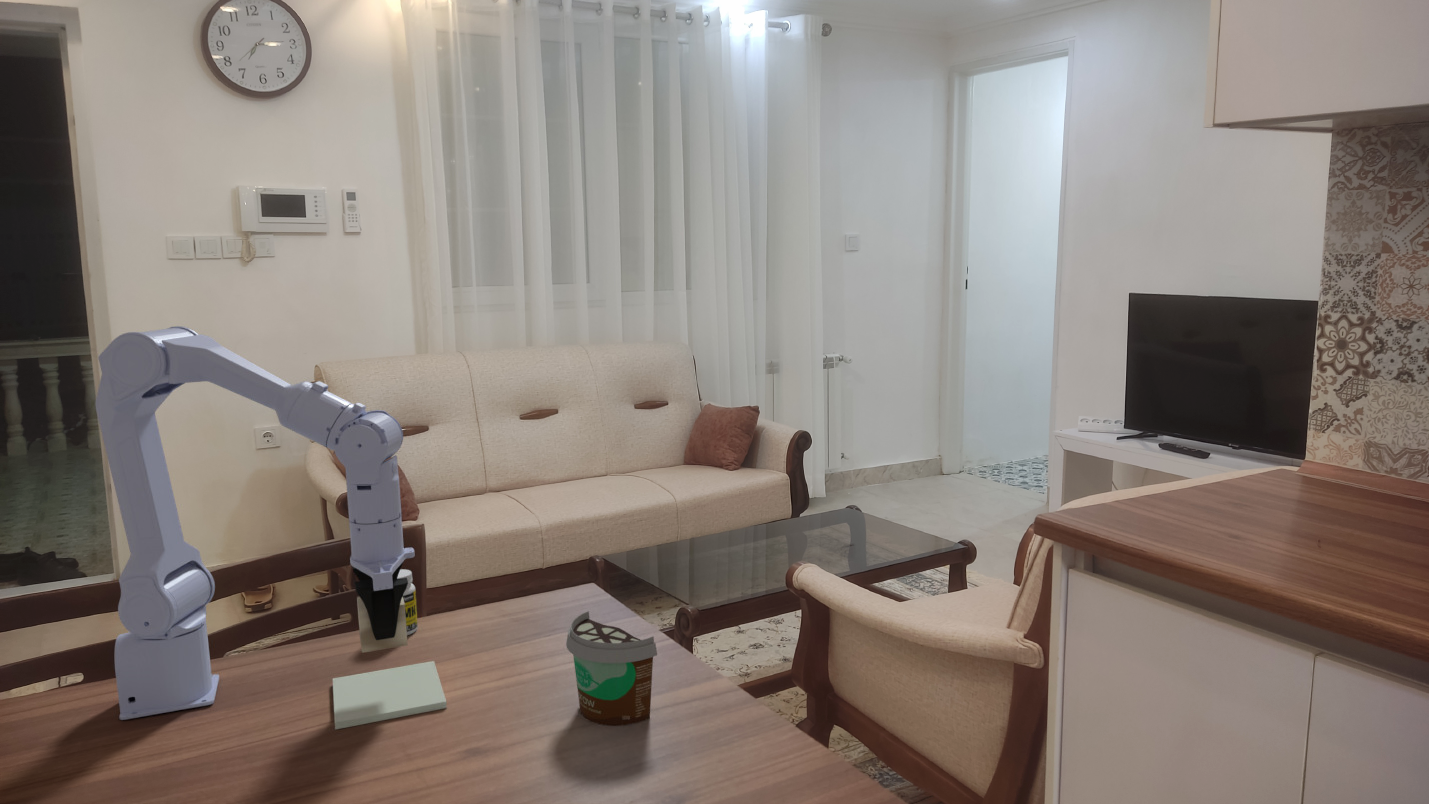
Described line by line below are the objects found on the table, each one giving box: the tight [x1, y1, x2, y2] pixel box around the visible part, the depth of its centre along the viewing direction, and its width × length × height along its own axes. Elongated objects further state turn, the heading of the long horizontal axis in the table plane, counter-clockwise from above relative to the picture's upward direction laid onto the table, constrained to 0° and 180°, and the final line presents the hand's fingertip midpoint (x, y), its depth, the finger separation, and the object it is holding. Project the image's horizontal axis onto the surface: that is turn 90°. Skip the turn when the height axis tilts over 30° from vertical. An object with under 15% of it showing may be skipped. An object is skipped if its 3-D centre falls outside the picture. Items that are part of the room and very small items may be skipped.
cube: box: [356, 596, 408, 653], centre depth 109 cm, size 5×5×5 cm
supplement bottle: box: [397, 568, 419, 636], centre depth 129 cm, size 5×5×8 cm
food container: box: [565, 610, 658, 727], centre depth 105 cm, size 12×6×10 cm, turn 47°
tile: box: [332, 660, 448, 730], centre depth 111 cm, size 12×12×1 cm
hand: (383, 629), depth 109 cm, fingers closed on cube, 5 cm apart
